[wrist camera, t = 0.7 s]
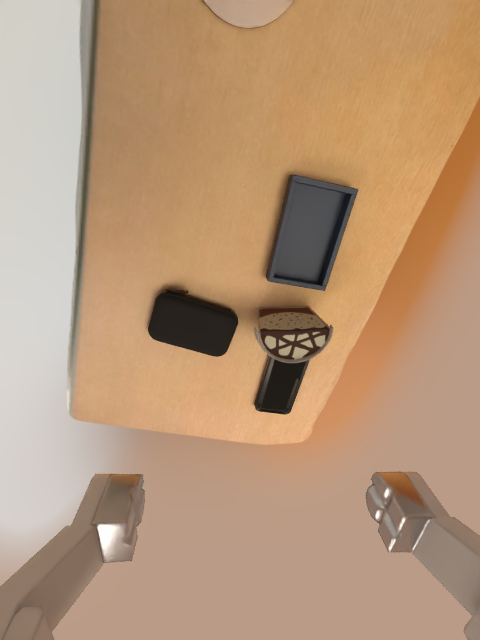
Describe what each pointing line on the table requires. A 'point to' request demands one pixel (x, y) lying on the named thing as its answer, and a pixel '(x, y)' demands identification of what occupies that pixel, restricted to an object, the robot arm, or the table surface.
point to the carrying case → (192, 323)
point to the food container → (292, 333)
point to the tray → (309, 232)
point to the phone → (279, 386)
